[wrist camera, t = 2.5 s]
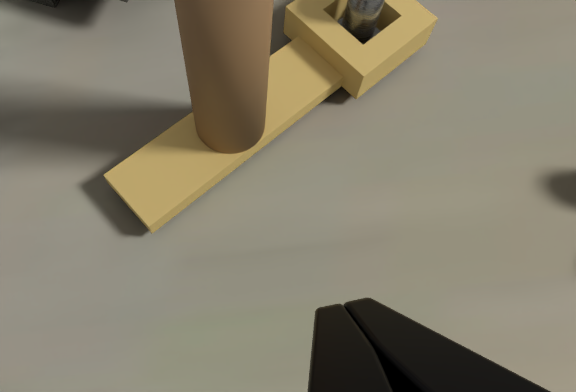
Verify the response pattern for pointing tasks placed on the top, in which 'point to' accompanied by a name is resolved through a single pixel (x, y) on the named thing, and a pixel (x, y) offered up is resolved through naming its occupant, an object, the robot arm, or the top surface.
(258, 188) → the top surface
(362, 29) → the peg
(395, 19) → the link
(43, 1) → the keeper
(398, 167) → the top surface
